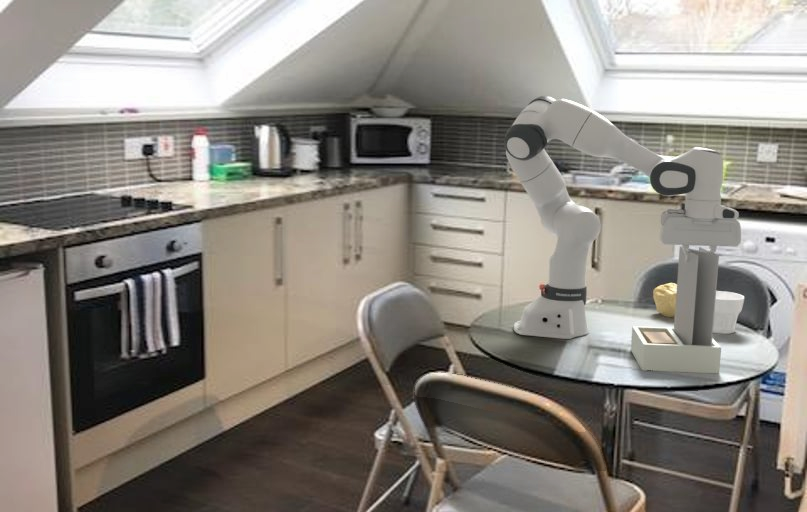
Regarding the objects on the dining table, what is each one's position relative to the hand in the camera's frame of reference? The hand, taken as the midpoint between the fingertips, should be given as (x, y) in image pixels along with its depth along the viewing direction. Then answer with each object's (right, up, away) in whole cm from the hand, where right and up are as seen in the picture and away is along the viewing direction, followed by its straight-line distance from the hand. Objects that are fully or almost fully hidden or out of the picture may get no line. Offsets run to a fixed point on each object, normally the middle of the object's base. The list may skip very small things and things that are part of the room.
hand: (697, 261), depth 229 cm
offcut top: (-9, -24, +5) cm, 26 cm away
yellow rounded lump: (+10, -18, +55) cm, 59 cm away
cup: (+20, -22, +38) cm, 48 cm away
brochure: (0, -27, +5) cm, 27 cm away
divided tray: (-5, -27, +5) cm, 28 cm away
